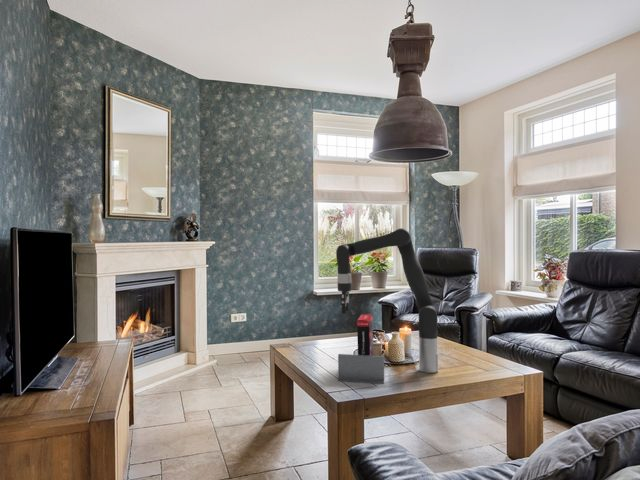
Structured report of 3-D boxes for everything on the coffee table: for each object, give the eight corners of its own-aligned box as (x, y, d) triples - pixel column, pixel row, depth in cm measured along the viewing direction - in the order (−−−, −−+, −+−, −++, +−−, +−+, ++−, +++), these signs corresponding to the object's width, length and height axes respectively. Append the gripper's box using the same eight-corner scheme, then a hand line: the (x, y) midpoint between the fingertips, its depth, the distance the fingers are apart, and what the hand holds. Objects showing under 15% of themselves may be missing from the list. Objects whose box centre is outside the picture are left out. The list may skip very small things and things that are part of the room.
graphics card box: (370, 374, 235) (370, 320, 234) (357, 373, 236) (356, 319, 236) (373, 364, 251) (373, 314, 251) (361, 364, 253) (360, 314, 252)
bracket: (385, 375, 233) (385, 351, 232) (383, 383, 219) (383, 358, 219) (342, 372, 237) (341, 349, 237) (337, 381, 224) (337, 356, 224)
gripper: (349, 283, 242) (350, 314, 242) (353, 280, 256) (353, 310, 256) (335, 283, 244) (335, 314, 244) (339, 280, 258) (340, 310, 258)
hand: (345, 312), depth 250 cm, fingers open, 8 cm apart
